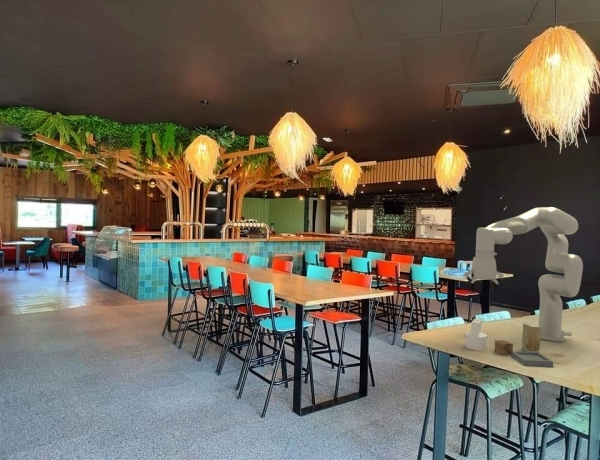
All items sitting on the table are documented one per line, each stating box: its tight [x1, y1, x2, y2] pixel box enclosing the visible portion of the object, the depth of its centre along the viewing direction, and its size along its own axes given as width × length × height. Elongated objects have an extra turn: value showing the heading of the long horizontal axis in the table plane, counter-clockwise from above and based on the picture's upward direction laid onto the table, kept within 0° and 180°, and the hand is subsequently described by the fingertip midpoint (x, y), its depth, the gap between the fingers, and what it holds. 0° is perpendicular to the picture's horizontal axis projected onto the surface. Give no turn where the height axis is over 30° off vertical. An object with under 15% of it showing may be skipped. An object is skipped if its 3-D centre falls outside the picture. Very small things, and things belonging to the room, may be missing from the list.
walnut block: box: [493, 339, 514, 357], centre depth 171 cm, size 5×5×5 cm
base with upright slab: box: [464, 318, 488, 351], centre depth 179 cm, size 9×9×12 cm
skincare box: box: [521, 322, 541, 353], centre depth 174 cm, size 6×4×12 cm
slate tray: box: [510, 350, 554, 368], centre depth 162 cm, size 11×11×2 cm
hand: (483, 292), depth 182 cm, fingers open, 9 cm apart
